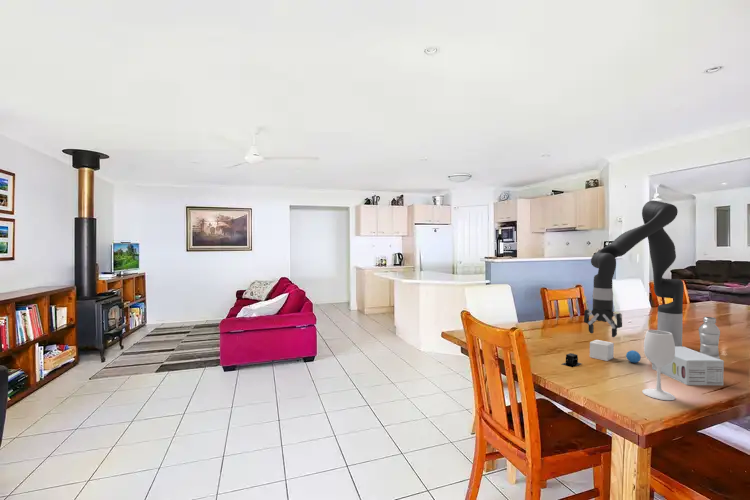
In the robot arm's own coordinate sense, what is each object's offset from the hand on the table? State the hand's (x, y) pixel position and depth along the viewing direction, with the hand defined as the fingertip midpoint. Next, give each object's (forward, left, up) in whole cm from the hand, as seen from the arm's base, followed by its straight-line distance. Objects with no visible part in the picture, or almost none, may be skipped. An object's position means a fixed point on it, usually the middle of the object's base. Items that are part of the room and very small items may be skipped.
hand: (602, 335), depth 158 cm
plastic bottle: (-21, +32, -10) cm, 40 cm away
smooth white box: (0, 0, -10) cm, 10 cm away
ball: (-3, +11, -8) cm, 14 cm away
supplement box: (0, +28, -11) cm, 30 cm away
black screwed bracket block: (+19, -5, -11) cm, 22 cm away
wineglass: (+29, +27, -10) cm, 41 cm away
